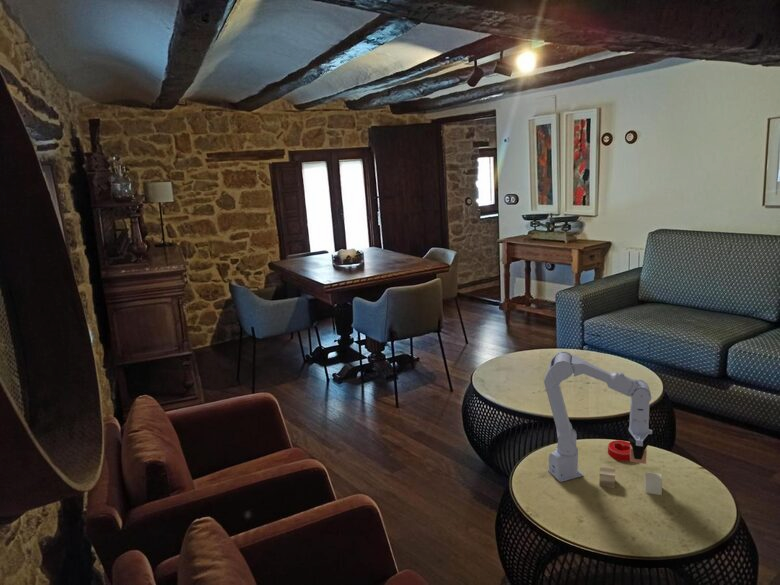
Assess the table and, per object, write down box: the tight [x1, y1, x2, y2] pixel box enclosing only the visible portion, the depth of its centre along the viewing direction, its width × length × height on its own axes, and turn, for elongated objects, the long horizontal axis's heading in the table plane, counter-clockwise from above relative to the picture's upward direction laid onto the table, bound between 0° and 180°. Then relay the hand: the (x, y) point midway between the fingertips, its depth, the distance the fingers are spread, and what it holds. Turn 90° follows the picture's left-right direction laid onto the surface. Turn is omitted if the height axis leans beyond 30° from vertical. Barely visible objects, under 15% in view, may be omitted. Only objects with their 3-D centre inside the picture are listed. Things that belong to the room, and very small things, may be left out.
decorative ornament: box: [607, 439, 630, 462], centre depth 199 cm, size 10×10×3 cm
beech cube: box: [598, 465, 616, 488], centre depth 183 cm, size 5×5×5 cm
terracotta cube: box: [629, 444, 648, 465], centre depth 180 cm, size 5×5×5 cm
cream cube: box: [644, 471, 663, 496], centre depth 177 cm, size 5×5×5 cm
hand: (637, 454), depth 180 cm, fingers closed on terracotta cube, 5 cm apart
